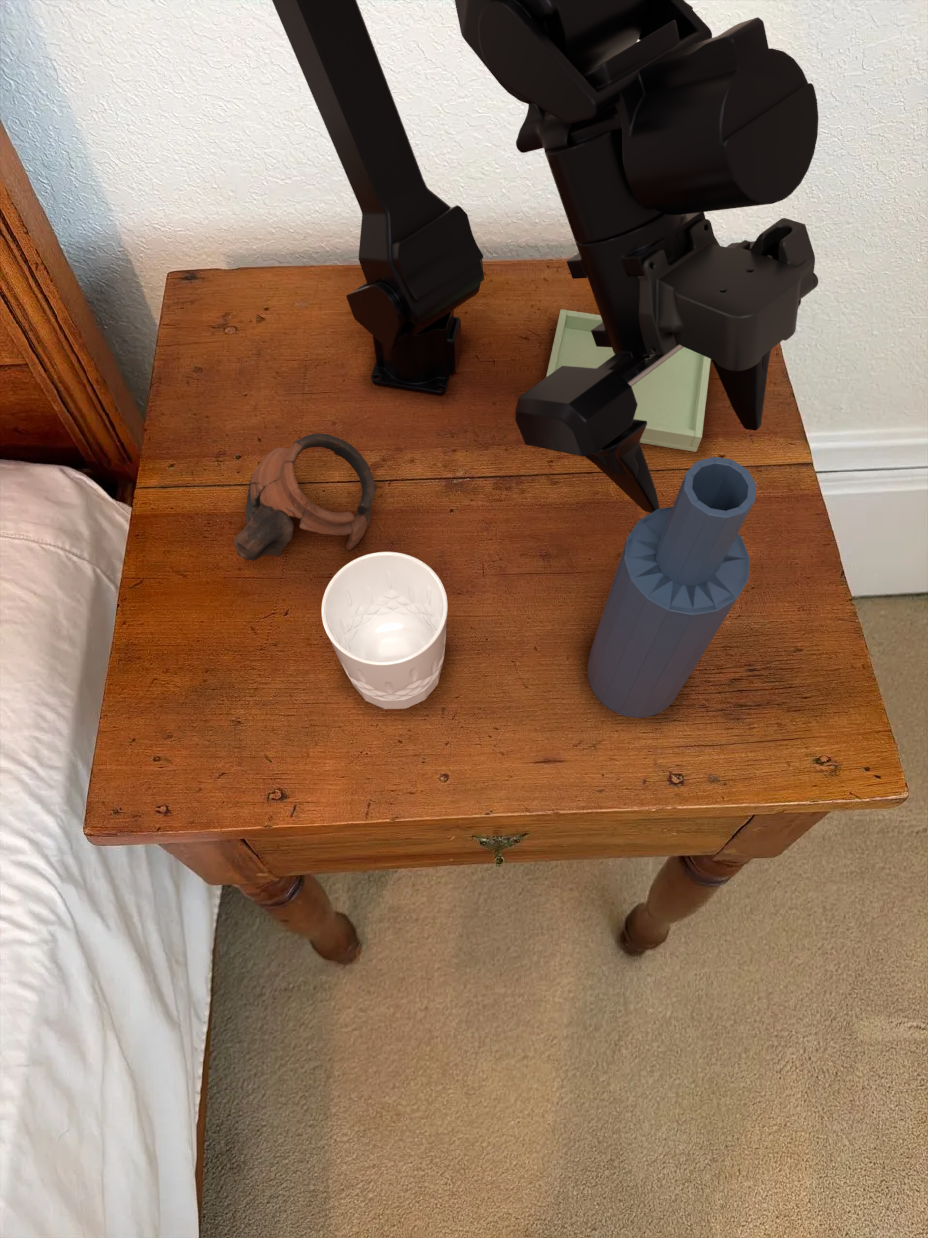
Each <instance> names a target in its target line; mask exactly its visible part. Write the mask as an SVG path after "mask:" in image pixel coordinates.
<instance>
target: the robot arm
mask: <svg viewBox="0 0 928 1238" xmlns="http://www.w3.org/2000/svg"><path fill="white" fill-rule="evenodd" d="M271 1H272V4H273V7H274V8H275V11H276V13H277V16H278V18H279V21H280V22H281V23H280V24H281V25H282V27H283V30H284V32H285V34H286V37H287V39H288V41H289V44H290V46H291V48H292V51H293V53H294V55H295V58H296V60H297V62H298V65H299V67H300V70H301V72H302V75H303V77H304V79H305V81H306V84H307V86H308V89H309V91H310V93H311V97H312V98H313V100H314V102H315V105H316V107H317V110H318V112H319V115H320V116H321V117H320V118H321V119H322V121H323V125H324V126H325V129H326V131H327V133H328V136H329V138H330V141H331V143H332V145H333V147H334V149H335V152H336V155H337V156H338V159H339V161H340V165H341V166H342V168H343V171H344V173H345V175H346V178H347V180H348V183H349V185H350V188H351V190H352V192H353V194H354V197H355V199H356V201H357V204H358V206H359V208H360V211H361V212H360V213H361V225H360V235H359V236H360V237H359V247H358V261H359V264H360V267H361V271H362V273H363V276H364V278H365V281H366V282H365V283H363V284H362V285H360V286H358V287H357V288H356V289H354V290H353V291H351V292H349V293H347V294H346V296H345V297H346V300H347V303H348V306H349V308H350V312H351V314H352V317H353V319H354V320H355V321H356V322H357V323H358V324H360V325H361V326H362V327H363V328H364V329H365V330H366V331H367V332H368V333H369V334H371V335H372V342H373V349H374V356H375V363H374V366H373V369H372V372H371V375H370V380H371V383H372V384H373V385H376V386H381V387H388V388H393V389H399V390H400V389H401V390H407V391H411V392H416V393H417V392H419V393H424V394H431V395H436V396H443V395H445V394H446V392H447V390H448V386H449V382H450V378H451V376H453V375H455V374H456V372H457V368H458V365H459V361H460V357H461V354H462V319H461V318H460V316H455V309H457V308H459V307H460V306H462V305H463V304H464V303H466V302H468V301H469V300H470V299H472V298H474V297H475V296H476V295H477V294H478V293H479V292H480V287H481V284H482V282H483V281H484V279H485V272H484V266H483V265H484V263H483V259H484V255H483V252H482V251H481V249H480V248H479V246H478V244H477V242H476V239H475V236H474V235H473V231H472V228H471V227H472V226H471V224H470V220H469V216H468V213H467V212H466V211H465V210H464V209H463V208H462V207H461V206H460V205H458V204H457V205H454V206H450V205H449V204H448V203H446V201H444V200H443V199H442V198H440V196H438V195H437V194H436V193H434V192H433V191H432V190H430V188H429V187H428V186H427V183H426V181H425V180H424V176H423V173H422V172H421V168H420V166H419V163H418V161H417V158H416V155H415V152H414V150H413V147H412V145H411V142H410V140H409V137H408V135H407V134H408V133H407V131H406V128H405V126H404V123H403V121H402V118H401V116H400V112H399V110H398V107H397V105H396V103H395V100H394V97H393V95H392V91H391V89H390V86H389V84H388V81H387V78H386V75H385V73H384V70H383V68H382V65H381V62H380V59H379V56H378V54H377V51H376V48H375V46H374V44H373V41H372V38H371V35H370V33H369V30H368V27H367V25H366V22H365V18H364V16H363V15H362V12H361V8H360V6H359V4H358V1H357V0H271ZM454 5H455V10H456V14H457V18H458V19H457V20H458V25H459V29H460V30H459V31H460V34H461V36H462V38H463V40H464V41H465V42H466V43H467V45H468V46H469V47H470V49H471V50H472V51H473V52H474V54H475V55H476V56H477V57H478V59H479V60H480V62H482V64H483V65H484V66H485V67H486V69H487V70H488V71H489V72H490V74H491V75H492V76H493V78H494V79H495V80H496V81H497V82H498V84H499V85H500V86H501V87H502V88H503V89H504V90H505V92H507V93H508V94H509V95H510V96H512V97H513V98H515V99H516V100H517V101H519V102H521V103H524V104H526V105H527V107H528V108H527V112H526V116H525V118H524V121H523V123H522V125H521V126H520V129H519V131H518V134H517V137H516V140H515V146H516V149H517V151H518V152H520V153H521V154H525V153H529V152H534V151H538V150H540V149H543V150H544V154H545V158H546V161H547V163H548V166H549V170H550V172H551V175H552V177H553V182H554V183H555V187H556V190H557V193H558V195H559V198H560V201H561V204H562V207H563V210H564V212H565V213H564V214H565V216H566V219H567V222H568V224H569V227H570V231H571V233H572V237H573V240H574V242H575V245H576V248H577V251H578V252H577V253H576V254H575V255H573V256H572V257H571V258H569V259H567V260H566V264H567V267H568V271H569V273H570V276H571V278H572V280H575V279H587V280H588V283H589V286H590V289H591V292H592V295H593V298H594V301H595V304H596V306H597V310H598V312H599V315H601V318H602V321H603V322H602V323H601V324H599V325H598V326H597V327H595V328H594V329H592V330H591V332H592V335H593V338H594V341H595V344H596V347H612V349H613V352H614V354H615V355H614V356H613V357H611V358H610V359H608V360H607V361H606V362H604V363H603V364H602V365H600V366H599V367H598V368H585V367H573V366H561V367H560V368H558V369H557V370H556V371H554V372H553V373H551V374H550V375H549V376H547V377H546V376H545V378H543V379H542V380H540V381H539V382H538V383H536V384H534V385H533V386H532V387H531V388H529V389H528V390H526V391H525V392H524V393H522V394H521V395H519V397H518V398H517V401H516V406H515V410H514V412H515V413H514V414H515V415H514V418H515V424H516V425H517V427H518V430H519V432H520V435H521V437H522V439H523V442H524V444H525V445H526V446H531V447H534V448H540V449H543V450H544V449H545V450H549V451H554V452H559V453H563V454H569V455H572V456H577V457H578V456H579V457H584V458H586V459H587V460H588V461H590V462H591V463H592V464H593V465H595V466H596V467H597V468H598V469H599V470H600V471H601V472H603V473H604V474H605V475H606V476H607V477H608V478H609V480H611V481H612V482H613V483H614V484H615V485H616V486H617V487H618V488H620V490H621V491H623V493H624V494H626V496H628V498H630V499H631V500H632V501H633V502H634V503H635V504H636V505H637V506H638V507H639V508H640V509H642V511H644V512H646V513H648V514H650V513H652V512H654V511H656V510H657V509H661V506H660V502H659V497H658V493H657V490H656V486H655V483H654V480H653V477H652V474H651V472H650V469H649V465H648V463H647V460H646V457H645V453H644V451H643V449H642V446H641V443H640V439H641V437H642V434H643V432H644V430H645V428H646V426H647V421H643V420H637V419H634V416H635V412H636V409H637V405H638V404H637V401H636V398H635V395H634V392H633V390H632V386H633V385H634V384H636V383H637V382H638V381H640V380H641V379H642V378H644V377H645V376H646V375H647V374H649V373H650V372H651V371H653V370H654V369H655V368H657V367H658V366H659V365H661V364H662V363H663V362H665V361H666V360H667V359H669V358H670V357H671V356H673V355H674V354H675V353H677V352H678V351H679V350H680V349H682V348H683V347H685V348H687V349H690V350H692V351H694V352H696V353H699V354H701V355H703V356H705V357H708V358H710V359H711V362H712V364H713V367H714V369H715V371H716V374H717V376H718V378H719V381H720V383H721V385H722V387H723V389H724V392H725V394H726V396H727V399H728V401H729V404H730V405H731V408H732V410H733V412H734V413H735V415H736V417H737V419H738V420H739V422H740V424H741V425H742V427H743V429H744V430H748V431H754V432H755V431H758V430H759V429H760V428H761V427H762V424H763V423H762V422H763V416H764V415H763V414H764V406H765V399H766V398H765V397H766V388H767V382H768V381H767V379H768V372H769V364H770V358H771V353H772V349H773V348H775V347H776V346H777V345H778V344H780V343H781V342H782V341H787V340H789V339H790V338H791V337H792V336H794V335H795V333H796V329H797V321H798V320H797V319H798V312H799V311H798V310H799V307H801V304H802V299H803V298H805V297H806V296H807V295H808V294H810V293H811V292H813V290H815V289H816V288H817V287H818V286H819V278H818V276H817V274H816V273H815V265H816V256H815V252H814V249H813V245H812V243H811V239H810V236H809V233H808V229H807V227H806V224H805V223H802V222H800V221H796V220H793V219H790V218H786V217H783V218H782V217H781V218H780V219H778V220H777V221H776V222H775V223H773V224H772V225H770V226H769V227H768V228H767V229H764V231H762V232H761V233H759V235H758V236H757V238H756V239H755V240H754V241H750V240H747V239H744V240H742V241H741V242H731V243H730V244H728V245H727V246H723V245H721V244H720V243H719V241H718V239H717V238H716V236H715V233H714V229H713V225H712V222H711V220H710V219H708V218H706V214H705V213H707V212H714V211H722V210H723V211H724V210H732V209H742V208H750V207H757V206H767V205H773V204H776V203H779V202H781V201H784V200H785V199H787V198H789V197H790V196H791V195H792V194H793V193H794V191H795V190H796V189H797V188H798V187H799V186H800V185H801V183H802V182H803V180H804V179H805V176H806V174H807V173H808V171H809V169H810V166H811V163H812V160H813V158H814V155H815V151H816V145H817V142H818V141H817V140H818V134H819V133H818V132H819V107H818V98H817V93H816V89H815V86H814V84H813V83H811V82H808V80H807V77H806V75H805V73H804V71H803V69H802V67H801V66H800V64H798V62H797V61H796V60H795V58H794V57H792V56H790V55H789V54H788V53H786V52H785V51H784V50H780V49H777V48H773V47H771V48H769V42H768V37H767V32H766V27H765V23H764V20H762V19H761V18H760V17H759V16H756V17H754V18H752V19H747V20H745V21H742V22H739V23H737V24H735V25H733V26H732V27H730V28H728V29H727V30H725V31H723V32H722V33H720V34H719V35H716V36H714V37H713V33H712V29H711V28H710V27H709V26H708V25H707V23H706V22H704V21H703V20H702V18H701V17H700V16H699V15H698V14H697V13H696V12H695V11H694V9H693V6H692V5H690V4H689V3H688V2H686V1H685V0H454Z"/></svg>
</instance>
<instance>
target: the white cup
mask: <svg viewBox="0 0 928 1238" xmlns="http://www.w3.org/2000/svg"><path fill="white" fill-rule="evenodd" d="M448 606H449V605H448V596H447V592H446V589H445V586H444V584H443V582H442V580H441V578H440V577H439V576H438V575H437V573H436V572H435V571H434V570H433V569H432V568H431V566H429V565H428V564H427V563H425V562H424V561H422V560H420V559H418V558H417V557H415V556H412V555H409V554H407V553H403V552H396V551H378V552H372V553H371V552H370V553H367V554H365V555H361V556H358V557H357V558H355V559H353V560H351V561H350V562H348V563H347V564H345V565H344V566H342V567H341V568H340V569H338V571H337V572H336V573H335V574H334V576H333V577H331V579H330V581H329V583H328V584H327V586H326V588H325V591H324V594H323V596H322V600H321V611H320V612H321V620H322V625H323V628H324V630H325V633H326V635H327V637H328V639H329V641H330V643H331V645H332V648H333V650H334V653H335V654H336V657H337V659H338V661H339V663H340V665H341V666H342V668H343V670H344V672H345V674H346V676H347V677H348V678H349V681H350V682H351V684H352V686H353V688H354V689H355V690H356V691H357V693H359V695H360V696H361V697H362V698H363V700H364V701H365V702H368V703H370V704H372V705H374V706H376V707H379V708H381V709H384V710H406V709H408V708H411V707H413V706H415V705H417V704H419V703H421V702H424V701H425V700H426V699H427V698H428V697H429V696H430V695H431V694H432V692H433V691H434V690H435V688H436V687H437V686H438V685H439V683H440V677H441V673H442V670H443V665H444V660H445V652H446V641H447V628H448V627H447V625H448V608H449V607H448Z"/></svg>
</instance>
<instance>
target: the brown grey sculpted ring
mask: <svg viewBox="0 0 928 1238" xmlns="http://www.w3.org/2000/svg"><path fill="white" fill-rule="evenodd" d="M311 448H323V449H327V450H330V451H332V452H333V454H334V455H336V456H338V457H340V458H341V459H343V460H344V461H346V462H347V463H348V464H349V465H350V466H351V468H353V470H354V472H355V473H356V475H357V477H358V479H359V482H360V485H361V498H360V501H359V504H358V505H357V512H356V513H355V514H354V513H352V511H342V512H341V511H340V512H339V511H338V512H337V511H331V510H328V509H325V508H323V507H321V506H319V505H318V504H316V503H314V502H312V501H311V500H309V498H308V497H307V496H306V494H305V493H304V492H303V490H302V488H301V487H300V485H299V483H298V481H297V477H296V471H295V466H296V465H295V464H296V462H297V458H298V457H299V455H301V453H303V451H305V450H307V449H311ZM373 476H374V475H373V473H372V471H371V467H370V465H369V464H368V462H367V460H365V458H364V457H363V456H362V453H361V452H359V451H358V450H357V449H356V448H355V447H354V446H353V445H352V444H350V443H348V442H347V441H346V440H344V439H341V438H339V437H337V436H334V435H331V434H328V433H321V432H320V433H319V432H318V433H317V432H316V433H312V434H307V435H305V436H303V437H301V438H299V439H297V440H294V442H293V443H292V445H291V446H290V447H283V446H282V447H275V448H274V449H273V450H271V451H270V452H269V453H267V454H266V455H265V456H264V457H263V458H262V459H261V460H260V461H259V464H258V465H256V467H255V469H254V471H253V473H252V474H251V477H250V481H249V485H248V490H247V497H246V505H245V514H244V515H245V523H246V526H245V527H244V528H243V529H242V530H241V531H240V532H239V533H237V534H236V536H235V537H234V540H233V546H234V548H235V551H236V554H237V556H239V557H241V558H243V559H244V560H246V561H252V562H253V561H256V560H258V559H261V558H262V557H264V556H273V557H280V556H282V554H283V553H282V552H283V550H284V547H287V545H288V544H289V543H290V542H291V541H292V539H293V537H294V529H295V528H294V527H295V525H294V522H293V520H292V519H291V518H296V519H299V525H298V526H299V528H300V529H301V530H304V531H308V532H312V533H317V534H320V535H332V536H347V535H348V537H349V538H348V539H347V540H348V541H347V542H346V544H345V549H346V550H347V551H351V550H352V549H354V548H355V547H356V546H357V545H358V544H359V543H360V541H361V540H362V538H363V537H364V535H365V532H366V531H367V528H368V527H369V526H370V523H371V519H372V510H373V509H372V508H373V503H374V501H375V493H376V483H375V479H374V477H373ZM290 517H291V518H290Z"/></svg>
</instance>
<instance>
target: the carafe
mask: <svg viewBox="0 0 928 1238" xmlns="http://www.w3.org/2000/svg"><path fill="white" fill-rule="evenodd" d="M756 496H757V483H756V481H755V480H754V478H753V476H752V474H751V472H750V471H749V469H747V468H746V467H745V466H743V465H741V464H740V463H738V462H737V461H735V460H734V459H731V458H725V457H718V456H711V457H708V458H703V459H701V460H698V461H695V462H694V463H693V465H692V466H691V467H690V468H689V469H688V470H687V471H686V472H685V474H684V476H683V479H682V482H681V484H680V486H679V490H678V493H677V494H676V497H675V500H674V502H673V505H672V506H667V507H660V509H657V510H656V511H654V512H652V513H648V514H647V515H646V516H644V517H642V518H641V519H639V520H637V522H636V524H635V525H634V527H633V529H631V531H630V533H629V534H628V535H627V537H626V540H625V543H624V546H623V550H622V551H621V552H622V553H621V556H620V558H619V562H618V565H617V568H616V571H615V574H614V576H613V580H612V583H611V587H610V590H609V593H608V595H607V599H606V602H605V605H604V608H603V612H602V614H601V617H600V621H599V623H598V626H597V629H596V633H595V637H594V639H593V642H592V645H591V648H590V652H589V654H588V661H587V666H586V667H587V668H586V674H587V675H586V676H587V681H588V684H589V687H590V689H591V691H592V693H593V694H594V696H595V697H596V699H597V700H598V701H599V702H600V703H601V704H602V705H603V706H604V707H605V708H607V709H608V710H610V711H612V712H614V713H615V714H617V715H621V716H624V717H628V718H634V719H636V718H637V719H642V718H648V717H653V716H655V715H657V714H660V713H662V712H664V711H665V710H666V709H668V708H669V707H670V706H671V704H673V703H674V701H675V700H676V698H677V697H678V695H679V694H680V692H681V690H682V689H683V687H684V685H685V684H686V683H687V680H689V677H690V676H691V674H692V673H693V671H694V669H695V668H696V666H697V665H698V663H699V661H700V660H701V658H702V657H703V654H704V652H706V650H707V648H708V646H709V645H710V644H711V642H712V640H713V639H714V637H715V636H716V633H717V632H718V630H719V629H720V627H721V626H722V625H723V623H724V621H725V619H726V618H727V616H728V614H729V613H730V611H731V610H732V608H733V606H734V605H735V603H736V601H737V600H738V598H739V597H740V595H741V594H742V592H743V590H744V589H745V587H746V585H747V584H748V583H749V579H750V577H749V576H750V566H751V557H750V555H749V553H748V550H747V547H746V544H745V542H744V539H743V537H742V536H741V535H740V533H739V532H740V530H741V528H742V527H743V524H744V522H745V521H746V519H747V517H748V516H749V513H750V511H751V509H752V507H753V506H754V503H755V502H756V498H757V497H756Z"/></svg>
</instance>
